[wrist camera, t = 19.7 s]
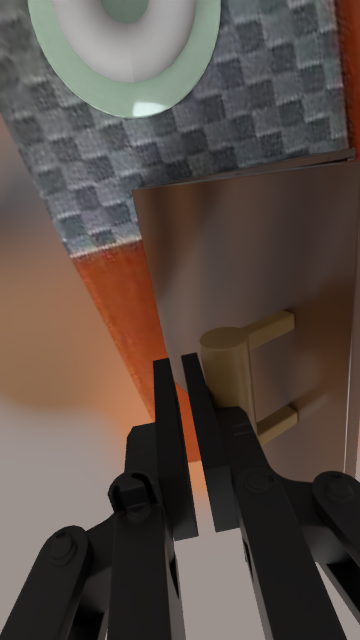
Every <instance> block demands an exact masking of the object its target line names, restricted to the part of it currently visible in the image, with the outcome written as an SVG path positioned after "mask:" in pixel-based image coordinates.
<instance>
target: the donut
mask: <svg viewBox="0 0 360 640" xmlns="http://www.w3.org/2000/svg"><path fill="white" fill-rule="evenodd" d="M51 3H52V6H53V9H54V13H55V16H56V19H57V23H58V26H59V28H60V30H61V32H62V33H63V35H64V37H65V38H66V40H67V42H68V43H69V45H70V47H71V48H72V50H73V52H74V53H75V54H76V55H77V56H78V57H79V58H80V59H82V60H83V61H84V62H85V63H86V64H87V65H88V66H89V67H90V68H91V69H92V70H93V71H95V72H97V73H99V74H101V75H103V76H105V77H107V78H109V79H111V80H113V81H119V82H127V83H138V82H141V81H145V80H149V79H153V78H155V77H156V76H158V75H159V74H160V73H162V72H163V71H164V70H166V69H167V68H169V67H170V66H171V65H172V64H173V63H174V61H175V60H176V58H177V57H178V56H179V54H180V53H181V51H182V50H183V49H184V47H185V46H186V44H187V41H188V38H189V35H190V32H191V29H192V26H193V23H194V20H195V9H196V0H149V1H148V6H147V10H146V11H145V13H144V14H143V16H142V17H141V18H140V19H138V20H137V21H136V22H133V23H129V24H125V23H119V22H117V21H115V20H114V19H112V18H111V17H110V16H109V15H108V14H107V13H106V11H105V10H104V8H103V6H102V2H101V0H51Z"/></svg>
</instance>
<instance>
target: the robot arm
mask: <svg viewBox="0 0 360 640" xmlns="http://www.w3.org/2000/svg"><path fill="white" fill-rule="evenodd" d="M181 360H182V365H183V370H184V375H185V380H186V385H187V390H188V395H189V400H190V405H191V410H192V416H193V421H194V426H195V431H196V436H197V441H198V446H199V451H200V456H201V461H202V466H203V471H204V475H205V481H206V485H207V491H208V496H209V501H210V506H211V511H212V516H213V521H214V526H215V531H216V532H221V531H226V530H230V529H235V528H240V529H241V533H242V540H243V546H244V553H245V560H246V562H247V563H248V567H249V571H250V576H251V580H252V584H253V589H254V593H255V597H256V601H257V605H258V609H259V614H260V618H261V622H262V626H263V631H264V634H265V639H266V640H347V638H346V636H345V633H344V631H343V629H342V626H341V624H340V621H339V619H338V617H337V614H336V612H335V609H334V607H333V605H332V602H331V600H330V597H329V595H328V593H327V590H326V588H325V585H324V583H323V581H322V578H321V576H320V573H319V571H318V569H317V566H316V564H315V562H318V563H319V565H320V566H321V568H322V569H323V571H324V572H325V574H326V575H327V577H328V578H329V580H330V581H331V583H332V584H333V586H334V587H335V588H336V590H337V592H338V593H339V595H340V596H341V598H342V599H343V601H344V602H345V604H346V605H347V606H348V608H349V609H350V611H351V612H352V614H353V615H354V617H355V618H356V620H357V621H358V623H359V624H360V482H358V481H357V480H356V479H355V478H353V477H352V476H350V475H348V474H345V473H343V472H340V471H326V472H322V473H320V474H319V475H318V476H316V477H315V479H314V481H313V482H303V481H294V480H289V479H287V478H284V477H282V476H280V475H279V474H277V473H276V472H275V471H274V470H273V469H272V468H271V466H270V465H269V463H268V461H267V458H266V456H265V454H264V452H263V449H262V447H261V445H260V443H259V440H258V438H257V436H256V433H255V432H254V429H253V427H252V424H251V422H250V420H249V417H248V415H247V413H246V412H245V411H244V410H243V409H242V408H241V407H239V406H234V407H223V408H218V409H214V408H213V405H212V402H211V398H210V395H209V392H208V388H207V385H206V382H205V378H204V375H203V372H202V368H201V365H200V362H199V358H198V355H197V352H195V353H190V354H185V355H181ZM153 370H154V398H155V422H154V423H149V424H144V425H139V426H134V427H133V428H132V429H131V431H130V433H129V435H128V437H127V444H126V460H125V471H124V473H122V474H121V475H120V476H118V477H117V478H116V479H115V480H114V481H113V483H112V484H111V486H110V488H109V491H108V497H109V499H110V502H111V505H112V507H113V510H114V513H113V514H112V515H111V516H110V517H109V518H108V519H107V520H105V521H103V522H102V523H100V524H98V525H96V526H95V527H93V528H91V529H89V530H87V531H85V530H84V529H83V528H82V527H78V526H74V525H73V526H68V527H64V528H62V529H60V530H58V531H57V532H55V533H54V534H53V535H52V536H51V537H50V538H49V539H48V540H47V541H46V542H45V544H44V545H43V547H42V549H41V550H40V552H39V554H38V556H37V558H36V561H35V563H34V565H33V567H32V569H31V571H30V573H29V575H28V577H27V580H26V582H25V584H24V586H23V588H22V590H21V592H20V594H19V596H18V599H17V601H16V603H15V605H14V607H13V609H12V611H11V613H10V616H9V617H8V619H7V622H6V624H5V626H4V628H3V630H2V632H1V634H0V640H105V636H106V633H107V640H186V637H185V628H184V619H183V610H182V601H181V591H180V583H179V573H178V565H177V559H176V555H175V551H174V541H173V537H174V540H175V541H178V540H183V539H188V538H193V537H197V536H199V535H198V528H197V521H196V515H195V508H194V501H193V495H192V488H191V481H190V474H189V467H188V461H187V454H186V447H185V440H184V434H183V427H182V420H181V413H180V406H179V401H178V397H177V392H176V387H175V383H174V378H173V373H172V368H171V364H170V359H169V358H165V359H160V360H155V361H153ZM239 526H240V527H239ZM107 628H108V631H107Z"/></svg>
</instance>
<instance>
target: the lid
mask: <svg viewBox="0 0 360 640" xmlns="http://www.w3.org/2000/svg"><path fill="white" fill-rule="evenodd" d="M132 196H133V200H134V205H135V209H136V214H137V219H138V223H139V228H140V232H141V237H142V242H143V246H144V251H145V255H146V260H147V265H148V269H149V274H150V278H151V283H152V288H153V292H154V297H155V301H156V306H157V311H158V315H159V320H160V324H161V329H162V334H163V338H164V343H165V347H166V352H167V357H168V358H169V359H170V364H171V368H172V373H173V378H174V381H175V382H176V383H177V384H178V385H179V386H180V387H181V388H182V389H183V390H184V391H185V392H186V393H188V390H187V385H186V380H185V375H184V370H183V365H182V360H181V355H185V354H190V353H195V352H197V355H198V358H199V362H200V365H201V368H202V372H203V375H204V378H205V382H206V385H207V388H208V392H209V395H210V398H211V402H212V405H213V408H214V409H218V408H223V407H234V406H239V407H241V408H242V409H243V410H244V411H245V412H246V413H247V415H248V417H249V420H250V422H251V424H252V427H253V429H254V432H255V433H256V436H257V438H258V440H259V443H260V445H261V447H262V449H263V452H264V454H265V456H266V458H267V461H268V463H269V465H270V466H271V468H272V469H273V470H274V471H275V472H276V473H277V474H279V475H280V476H282V477H284V478H287V479H289V480H294V481H303V482H313V481H314V479H315V477H316V476H318V475H319V474H320V473H322V472H326V471H340V472H343V473H345V474H348V475H350V476H352V477H353V478H355V474H356V461H357V447H358V434H359V421H360V160H352V161H345V162H337V163H330V164H322V165H314V166H307V167H299V168H291V169H284V170H276V171H268V172H261V173H253V174H245V175H238V176H230V177H222V178H215V179H207V180H200V181H192V182H184V183H177V184H169V185H161V186H154V187H146V188H139V189H134V190H132Z"/></svg>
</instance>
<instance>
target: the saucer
mask: <svg viewBox="0 0 360 640" xmlns="http://www.w3.org/2000/svg"><path fill="white" fill-rule="evenodd" d="M148 1H149V0H101V2H102V6H103V8H104V10H105V11H106V13H107V14H108V15H109V16H110V17H111V18H112V19H114V20H115V21H117V22H119V23H125V24H129V23H133V22H136V21H137V20H138V19H140V18H141V17H142V16H143V14H144V13H145V11H146V10H147V6H148ZM28 7H29V12H30V16H31V20H32V24H33V28H34V31H35V33H36V36H37V39H38V42H39V44H40V46H41V48H42V50H43V52H44V54H45V56H46V58H47V60H48V61H49V63H50V65H51V66H52V68H53V70H54V71H55V72H56V74H57V75H58V76H59V77H60V79H61V80H62V81H63V82H64V84H65V85H66V86H67V87H68V88H69V89H70V90H71V91H72V92H73V93H74V94H75V95H76V96H78V97H79V98H80V99H81V100H82V101H84V102H85V103H87V104H88V105H90V106H91V107H93V108H95V109H97V110H99V111H101V112H103V113H105V114H108V115H112V116H115V117H120V118H126V119H141V118H148V117H152V116H155V115H159V114H161V113H163V112H165V111H167V110H169V109H171V108H172V107H174V106H175V105H177V104H178V103H180V102H181V101H182V100H183V99H184V98H185V97H186V96H187V95H188V94H189V93H190V92H191V91H192V90H193V88H194V87H195V86H196V85H197V83H198V82H199V80H200V79H201V77H202V75H203V74H204V72H205V70H206V68H207V66H208V64H209V62H210V59H211V56H212V54H213V51H214V48H215V44H216V40H217V36H218V31H219V24H220V14H221V0H196V9H195V20H194V23H193V26H192V29H191V32H190V35H189V38H188V41H187V44H186V46H185V47H184V49H183V50H182V51H181V53H180V54H179V56H178V57H177V58H176V60H175V61H174V63H173V64H172V65H171V66H170V67H169V68H167V69H166V70H164V71H163V72H162V73H160V74H159V75H158V76H156V77H155V78H153V79H149V80H145V81H141V82H138V83H127V82H119V81H113V80H111V79H109V78H107V77H105V76H103V75H101V74H99V73H97V72H95V71H93V70H92V69H91V68H90V67H89V66H88V65H87V64H86V63H85V62H84V61H83V60H82V59H80V58H79V57H78V56H77V55H76V54H75V53H74V52H73V50H72V48H71V47H70V45H69V43H68V42H67V40H66V38H65V37H64V35H63V33H62V32H61V30H60V28H59V26H58V23H57V19H56V16H55V13H54V9H53V6H52V3H51V0H28Z"/></svg>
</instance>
